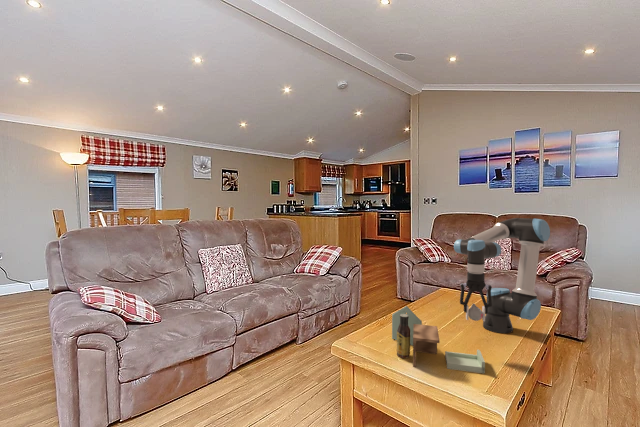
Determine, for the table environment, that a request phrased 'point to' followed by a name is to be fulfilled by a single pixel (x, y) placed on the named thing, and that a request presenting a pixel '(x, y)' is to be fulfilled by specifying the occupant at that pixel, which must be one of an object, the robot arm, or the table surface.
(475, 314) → the figurine
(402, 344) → the sauce bottle
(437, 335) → the wooden open box
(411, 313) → the grey piece
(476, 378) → the table surface
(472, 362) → the tray
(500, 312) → the robot arm
